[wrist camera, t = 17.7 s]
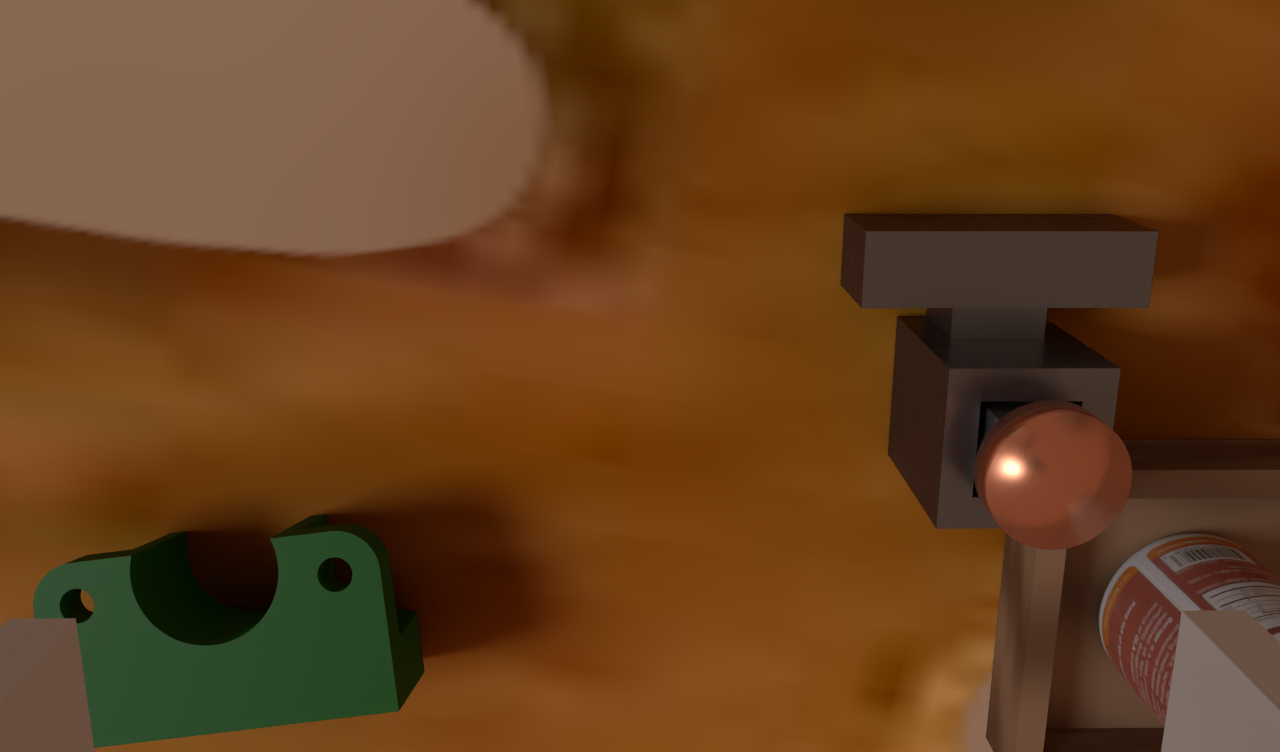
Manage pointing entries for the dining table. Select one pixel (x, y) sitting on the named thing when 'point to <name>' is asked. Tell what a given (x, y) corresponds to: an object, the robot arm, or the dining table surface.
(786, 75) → the dining table surface
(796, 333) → the dining table surface
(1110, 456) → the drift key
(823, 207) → the dining table surface
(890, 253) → the socket
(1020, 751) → the tray
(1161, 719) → the pill bottle
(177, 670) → the clamp
